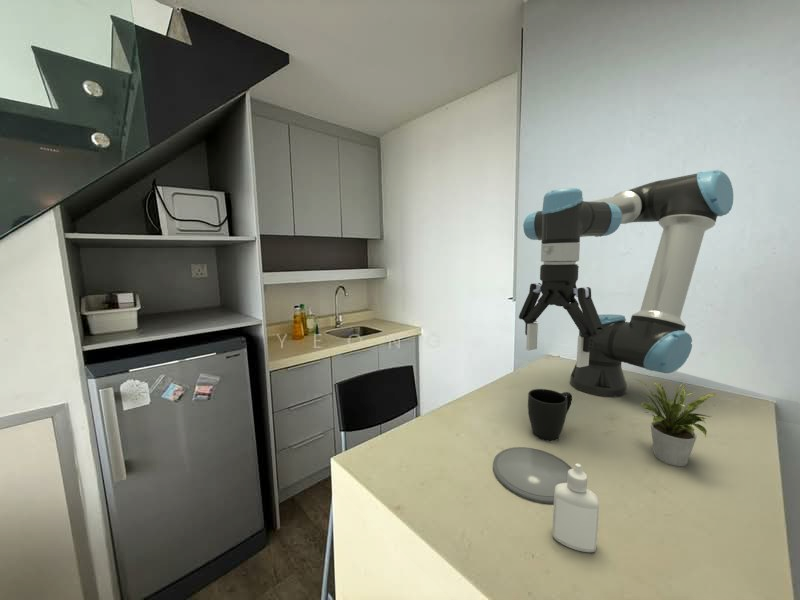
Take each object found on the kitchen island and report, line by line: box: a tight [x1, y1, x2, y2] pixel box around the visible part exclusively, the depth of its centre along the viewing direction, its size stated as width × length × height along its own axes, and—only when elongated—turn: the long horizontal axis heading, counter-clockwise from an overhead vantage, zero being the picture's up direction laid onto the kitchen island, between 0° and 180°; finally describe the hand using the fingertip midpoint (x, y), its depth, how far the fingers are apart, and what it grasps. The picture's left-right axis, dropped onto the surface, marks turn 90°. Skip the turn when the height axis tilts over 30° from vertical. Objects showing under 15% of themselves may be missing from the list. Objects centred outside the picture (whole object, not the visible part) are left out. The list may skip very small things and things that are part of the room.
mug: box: [527, 388, 573, 442], centre depth 74 cm, size 8×12×10 cm
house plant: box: [631, 377, 718, 467], centre depth 65 cm, size 14×14×16 cm
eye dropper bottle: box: [551, 463, 600, 553], centre depth 46 cm, size 4×6×12 cm
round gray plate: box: [492, 446, 573, 505], centre depth 61 cm, size 15×15×1 cm
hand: (554, 357), depth 73 cm, fingers open, 13 cm apart
